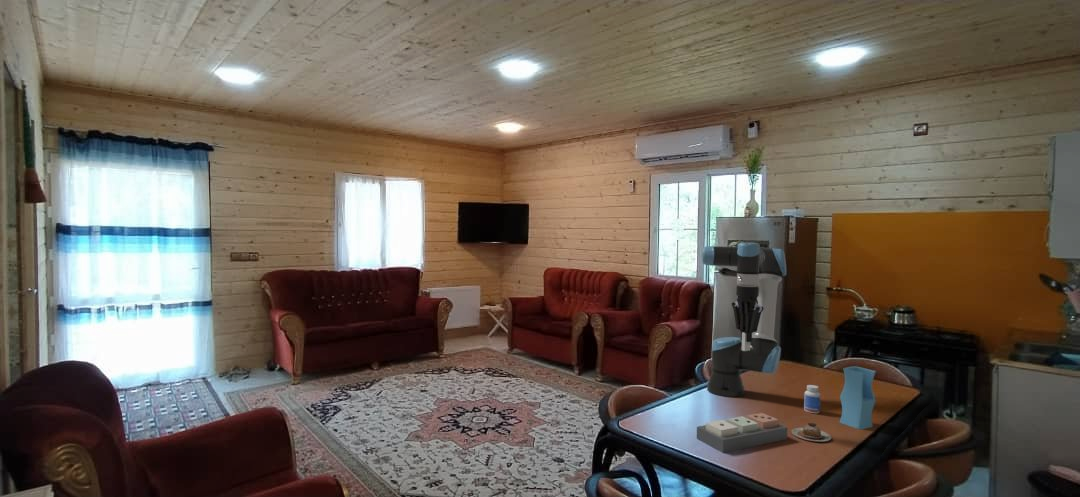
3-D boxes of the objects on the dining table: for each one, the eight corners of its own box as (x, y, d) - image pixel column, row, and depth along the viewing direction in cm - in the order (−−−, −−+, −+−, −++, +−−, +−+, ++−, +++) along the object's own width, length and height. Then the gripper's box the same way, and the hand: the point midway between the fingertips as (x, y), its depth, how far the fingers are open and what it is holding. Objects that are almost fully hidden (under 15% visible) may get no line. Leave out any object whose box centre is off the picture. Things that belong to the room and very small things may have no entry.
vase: (860, 430, 185) (862, 373, 185) (839, 422, 192) (841, 368, 192) (874, 426, 189) (876, 371, 188) (852, 419, 196) (854, 365, 195)
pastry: (830, 447, 171) (830, 433, 171) (789, 439, 177) (789, 425, 177) (832, 435, 181) (832, 422, 181) (793, 428, 188) (794, 415, 187)
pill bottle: (821, 414, 201) (822, 389, 200) (806, 413, 202) (807, 388, 201) (817, 409, 206) (818, 384, 206) (802, 408, 207) (803, 383, 207)
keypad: (696, 438, 176) (696, 426, 175) (758, 426, 187) (759, 415, 187) (722, 452, 165) (723, 440, 165) (787, 439, 176) (787, 427, 176)
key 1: (705, 434, 174) (705, 422, 174) (721, 431, 177) (722, 419, 177) (720, 442, 167) (721, 429, 167) (737, 439, 170) (737, 426, 170)
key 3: (746, 426, 181) (746, 414, 181) (761, 424, 184) (761, 412, 184) (762, 434, 175) (763, 421, 175) (777, 431, 178) (778, 418, 178)
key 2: (726, 430, 178) (726, 418, 177) (742, 427, 180) (742, 415, 180) (742, 438, 171) (742, 425, 171) (758, 435, 174) (758, 422, 174)
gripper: (726, 283, 194) (724, 347, 196) (754, 287, 183) (752, 355, 184) (741, 283, 198) (740, 345, 199) (769, 287, 186) (768, 353, 187)
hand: (745, 350), depth 191 cm, fingers closed
